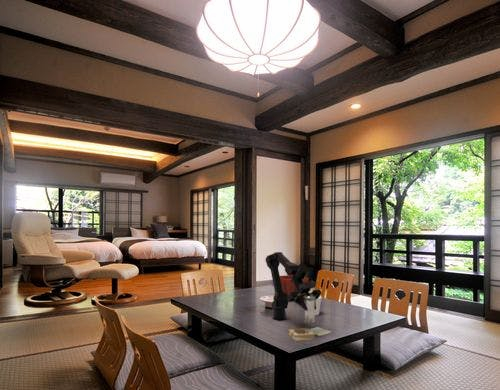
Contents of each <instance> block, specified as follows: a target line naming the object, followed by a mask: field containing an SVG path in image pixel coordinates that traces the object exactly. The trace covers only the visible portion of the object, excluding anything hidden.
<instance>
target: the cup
mask: <svg viewBox="0 0 500 390" xmlns="http://www.w3.org/2000/svg"><path fill="white" fill-rule="evenodd" d="M322 298H323V297H322V295H320V296H319V298H318V299H315V302H316V310H315V316H318V315H320V310H321V309H320V308H321V303H322Z"/></svg>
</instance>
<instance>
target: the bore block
mask: <svg viewBox="0 0 500 390" xmlns="http://www.w3.org/2000/svg"><path fill="white" fill-rule="evenodd" d="M309 329H310V328H307V327H301V328H290V329H288V335H289V336H290V337H291V338H292V339H293V340H294V341H295V342H301V341H313V340H316V337H315V336H316V335H315V334H314V333H312V332H311V331H310V330H309Z"/></svg>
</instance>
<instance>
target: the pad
mask: <svg viewBox="0 0 500 390" xmlns="http://www.w3.org/2000/svg"><path fill="white" fill-rule="evenodd" d="M308 329H309V330H310V331H311V332H312V333H314V334H315V336H318V337H321V336H324V335H327V334H331V333H332V331H331V330H328V329H325V328H323V327H319V326H317V327H313V328H308Z"/></svg>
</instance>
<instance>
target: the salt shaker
mask: <svg viewBox="0 0 500 390" xmlns="http://www.w3.org/2000/svg"><path fill="white" fill-rule="evenodd" d="M304 298H305V299H304V302H305V305H306V307H307V311H306V310H305V309H304V323H306V324H314V323H315V321H316V320H315V319H316V318H315V316H316V315H315V306H314V299H315V296H314V295H304Z"/></svg>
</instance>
